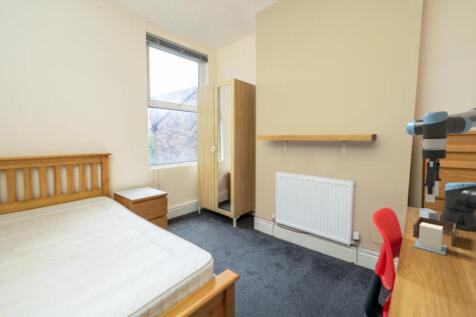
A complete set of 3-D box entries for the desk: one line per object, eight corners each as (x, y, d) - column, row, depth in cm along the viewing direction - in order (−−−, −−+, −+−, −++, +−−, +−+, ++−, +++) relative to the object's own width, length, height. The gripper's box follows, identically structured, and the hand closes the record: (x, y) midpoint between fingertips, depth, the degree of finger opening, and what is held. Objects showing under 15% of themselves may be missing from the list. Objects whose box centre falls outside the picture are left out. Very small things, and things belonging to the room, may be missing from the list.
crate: (418, 227, 112) (418, 216, 111) (455, 235, 102) (455, 223, 101) (413, 236, 102) (413, 224, 102) (453, 246, 92) (453, 233, 92)
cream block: (421, 241, 97) (421, 222, 96) (442, 246, 91) (443, 226, 91) (418, 245, 93) (419, 225, 93) (440, 250, 88) (441, 230, 87)
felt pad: (417, 239, 99) (417, 238, 99) (447, 246, 92) (447, 245, 92) (413, 246, 93) (413, 245, 93) (445, 255, 85) (445, 254, 85)
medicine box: (438, 229, 109) (439, 213, 108) (428, 229, 110) (429, 212, 109) (428, 223, 117) (428, 208, 116) (418, 223, 118) (419, 207, 117)
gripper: (426, 147, 100) (425, 191, 102) (417, 150, 84) (415, 203, 85) (449, 147, 94) (447, 194, 96) (443, 151, 78) (441, 207, 80)
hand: (432, 198), depth 91 cm, fingers open, 13 cm apart
